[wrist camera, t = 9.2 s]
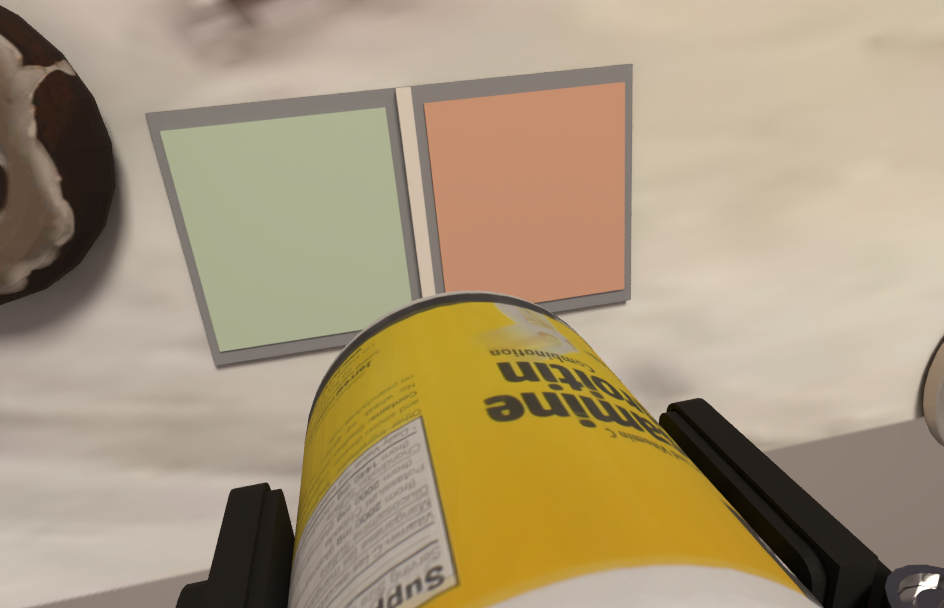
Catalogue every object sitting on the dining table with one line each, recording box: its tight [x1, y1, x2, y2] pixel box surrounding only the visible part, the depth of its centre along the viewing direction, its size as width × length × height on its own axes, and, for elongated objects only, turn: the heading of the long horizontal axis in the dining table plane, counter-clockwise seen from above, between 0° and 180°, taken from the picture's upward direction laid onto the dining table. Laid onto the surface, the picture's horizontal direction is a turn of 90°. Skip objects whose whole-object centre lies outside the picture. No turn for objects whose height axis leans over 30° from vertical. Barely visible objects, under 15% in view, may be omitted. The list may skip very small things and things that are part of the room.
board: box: [145, 64, 633, 366], centre depth 27 cm, size 20×11×1 cm, turn 95°
